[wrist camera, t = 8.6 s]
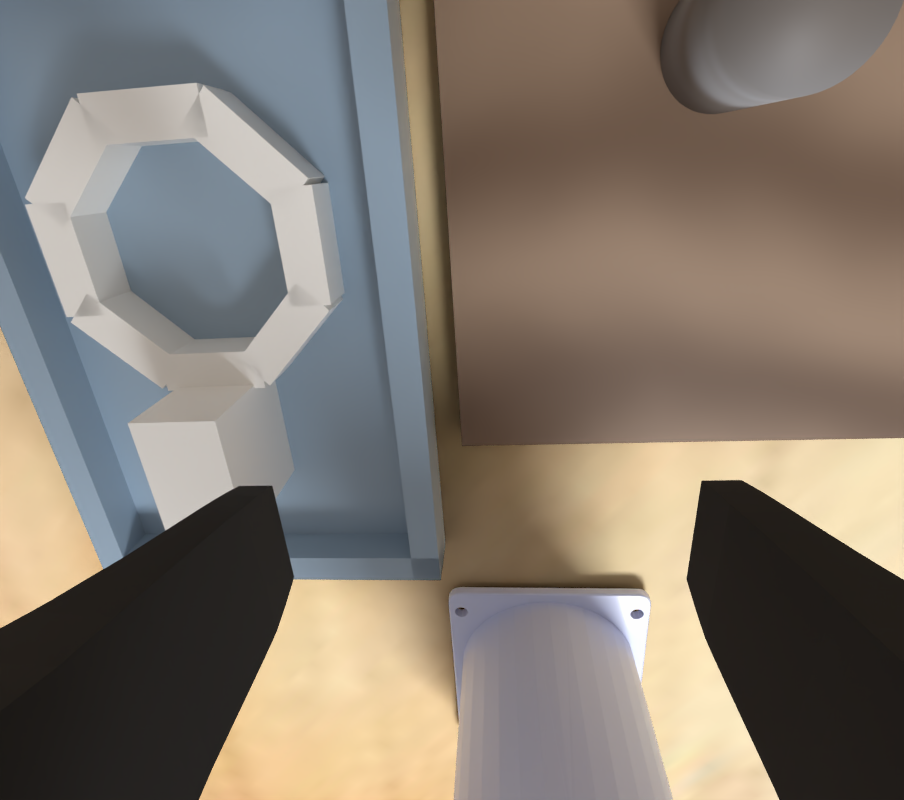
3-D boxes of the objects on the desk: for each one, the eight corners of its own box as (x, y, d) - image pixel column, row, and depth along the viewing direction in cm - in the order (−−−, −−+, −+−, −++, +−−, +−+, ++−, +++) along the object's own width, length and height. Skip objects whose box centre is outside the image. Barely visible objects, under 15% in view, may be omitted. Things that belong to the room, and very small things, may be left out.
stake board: (883, 423, 18) (1018, 515, 13) (463, 432, 19) (453, 517, 14) (1090, -261, 11) (1503, -553, 7) (426, -174, 12) (386, -366, 8)
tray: (445, 543, 21) (440, 580, 19) (138, 544, 22) (107, 578, 20) (389, -113, 13) (372, -157, 11) (-89, -55, 14) (-176, -86, 12)
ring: (370, 468, 19) (341, 540, 16) (157, 471, 20) (81, 541, 16) (313, 82, 14) (250, 55, 11) (33, 107, 15) (-115, 89, 11)
